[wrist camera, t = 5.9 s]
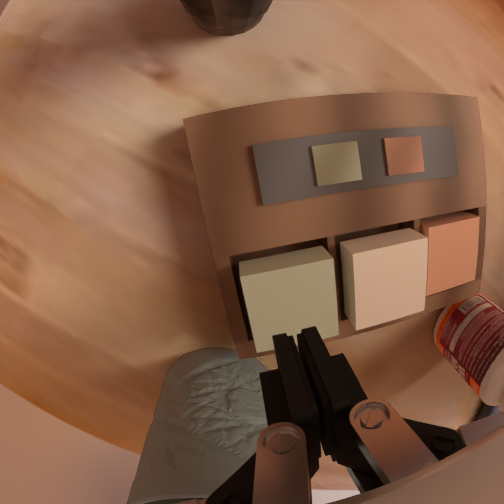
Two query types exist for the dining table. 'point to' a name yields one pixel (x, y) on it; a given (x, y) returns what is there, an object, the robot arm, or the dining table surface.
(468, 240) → the key terracotta
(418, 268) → the key cream
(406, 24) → the dining table surface
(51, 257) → the dining table surface
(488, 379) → the pill bottle
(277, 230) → the keypad board
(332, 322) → the key sage
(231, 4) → the beverage cup
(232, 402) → the grey green cup
